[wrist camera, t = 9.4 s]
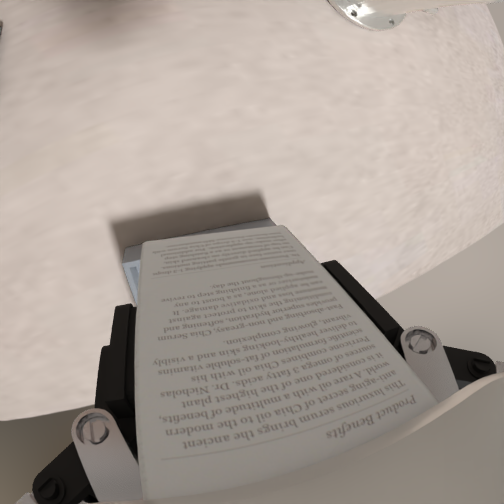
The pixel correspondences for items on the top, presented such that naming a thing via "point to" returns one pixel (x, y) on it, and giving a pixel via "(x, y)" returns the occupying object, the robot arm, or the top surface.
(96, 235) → the top surface
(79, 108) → the top surface
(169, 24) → the top surface
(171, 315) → the skincare box
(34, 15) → the top surface
